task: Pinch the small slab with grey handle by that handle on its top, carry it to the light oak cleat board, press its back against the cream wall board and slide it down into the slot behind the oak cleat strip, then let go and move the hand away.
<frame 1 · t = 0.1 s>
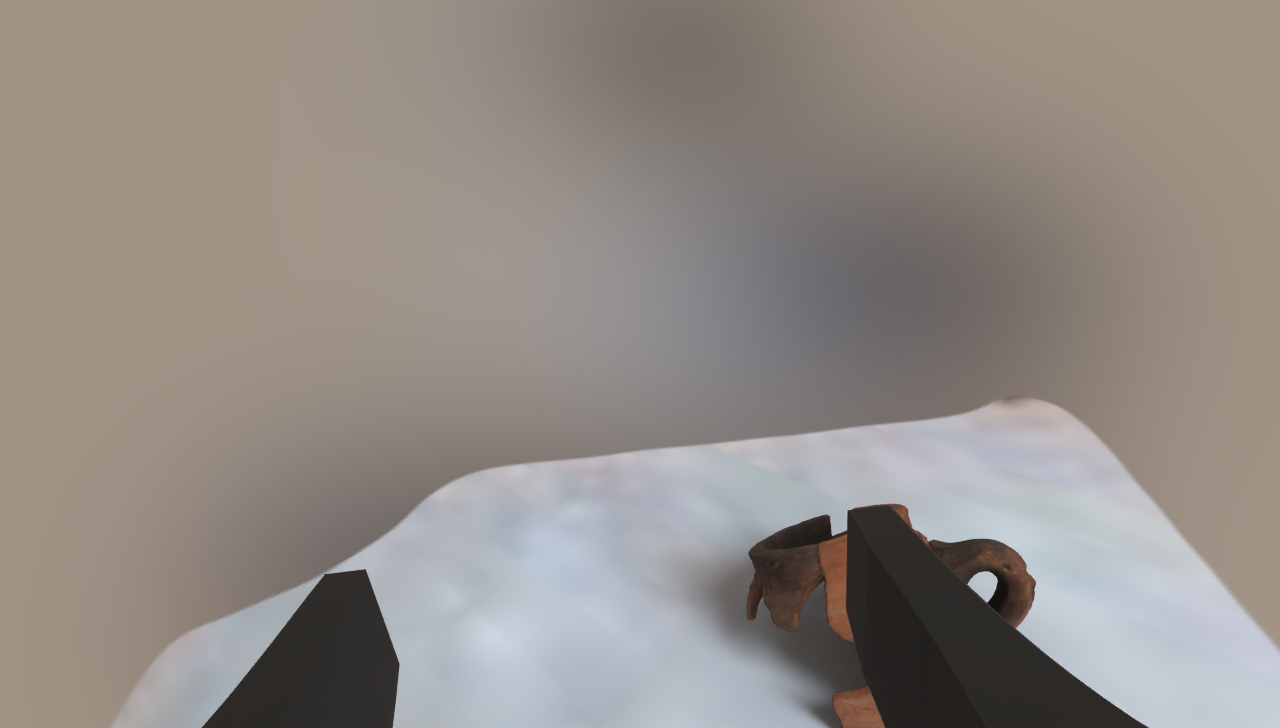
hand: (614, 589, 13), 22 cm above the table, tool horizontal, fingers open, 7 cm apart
pottery mug: (885, 659, 40), on the table
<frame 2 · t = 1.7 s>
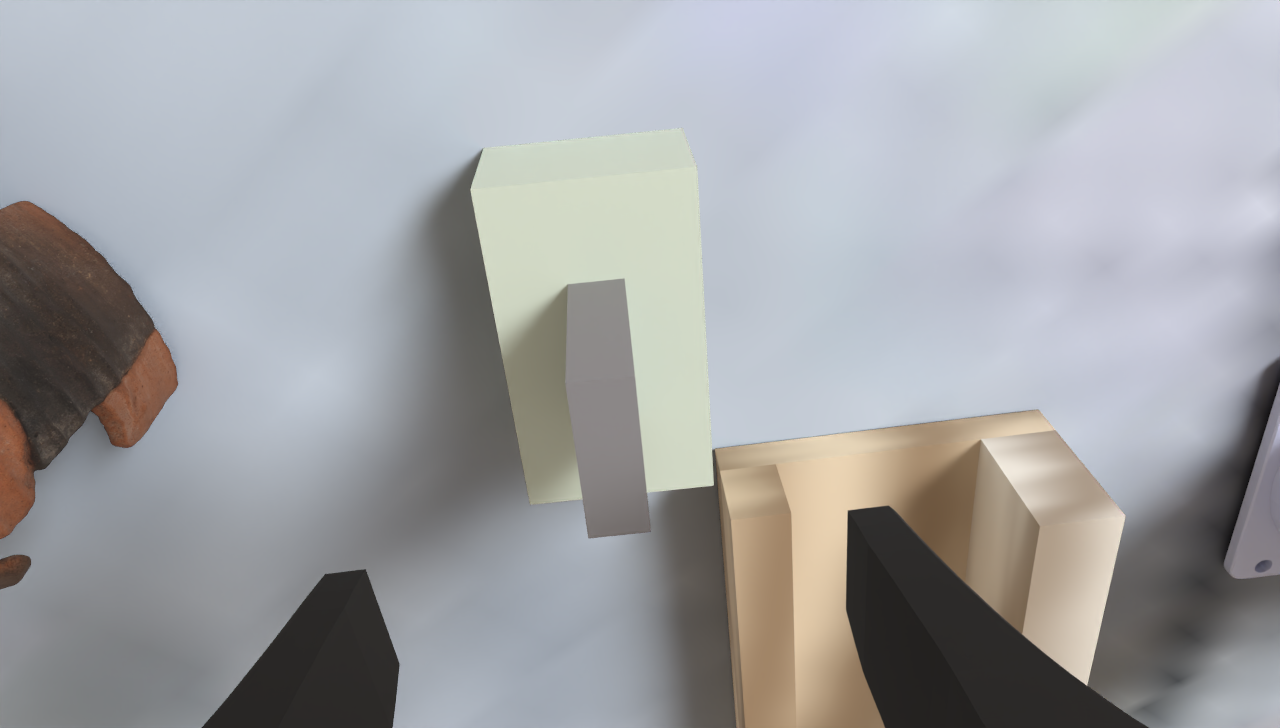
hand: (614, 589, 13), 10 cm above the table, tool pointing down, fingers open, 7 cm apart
cleat board: (867, 674, 29), on the table
slab with grey handle: (601, 294, 22), on the table
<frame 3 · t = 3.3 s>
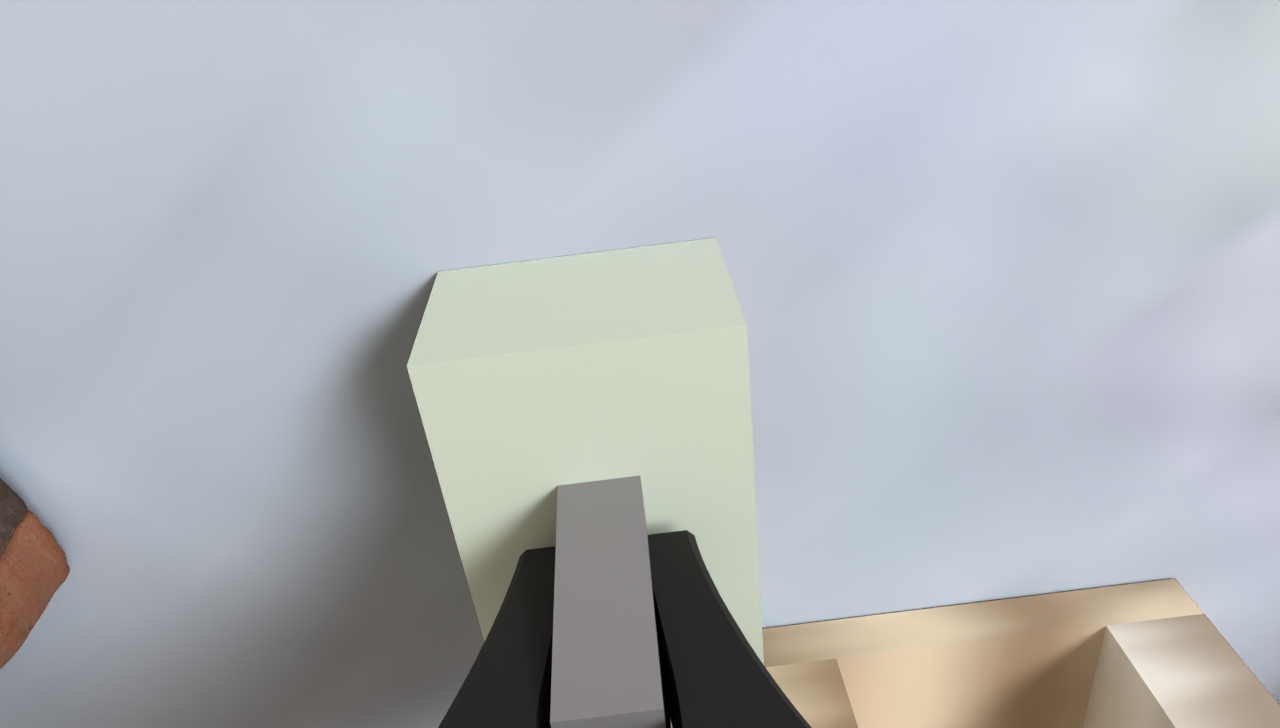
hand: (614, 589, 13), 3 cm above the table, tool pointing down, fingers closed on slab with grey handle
slab with grey handle: (607, 454, 16), on the table, touching gripper
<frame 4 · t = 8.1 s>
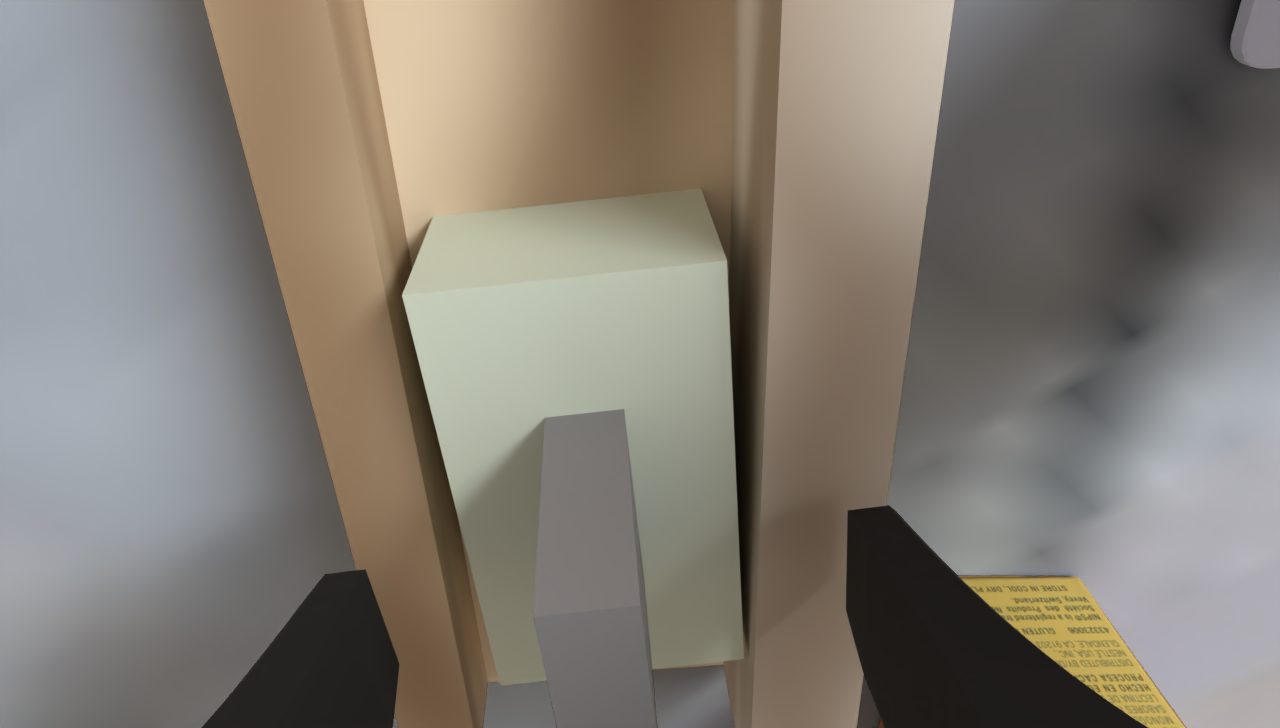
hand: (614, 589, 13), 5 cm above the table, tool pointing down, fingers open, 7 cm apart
candy box: (958, 687, 23), on the table
cleat board: (587, 260, 16), on the table
slab with grey handle: (594, 402, 17), point 1 cm above the table, touching cleat board
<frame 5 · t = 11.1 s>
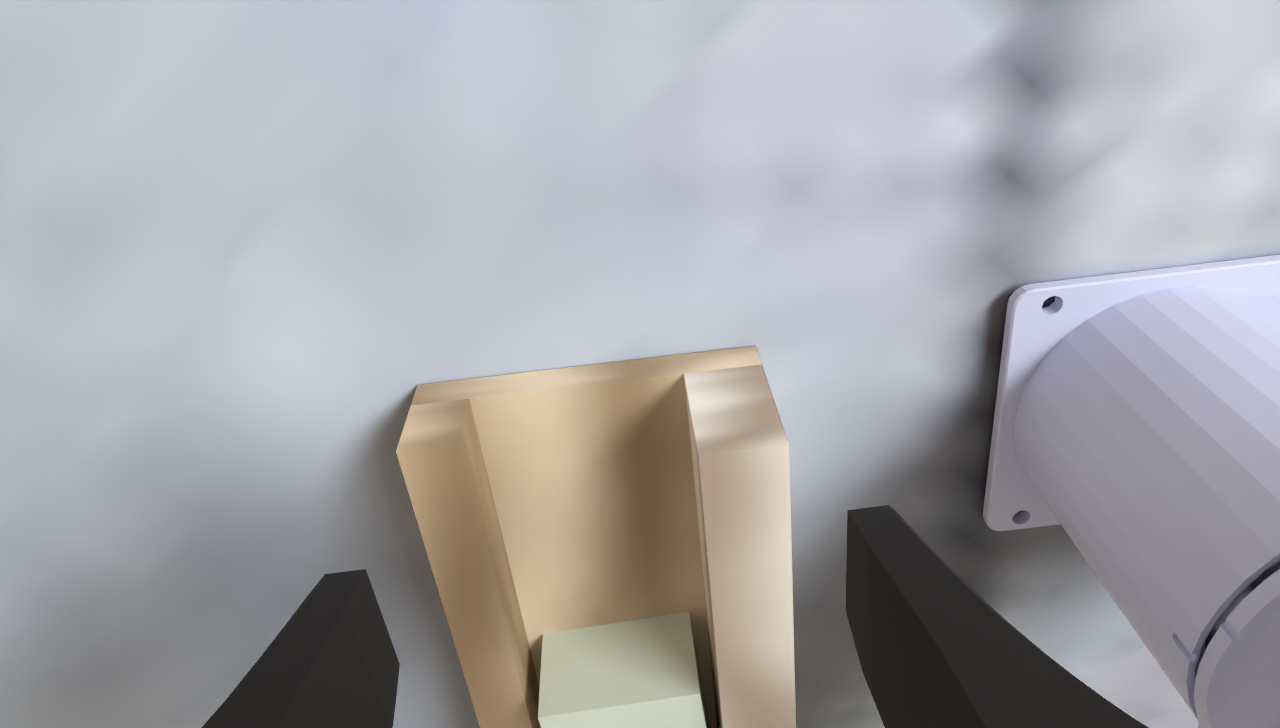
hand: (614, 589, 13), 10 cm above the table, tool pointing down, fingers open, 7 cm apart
cleat board: (628, 631, 28), on the table
slab with grey handle: (636, 709, 29), point 1 cm above the table, touching cleat board
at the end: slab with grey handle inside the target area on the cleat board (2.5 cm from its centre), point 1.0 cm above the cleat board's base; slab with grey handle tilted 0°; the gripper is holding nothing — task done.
